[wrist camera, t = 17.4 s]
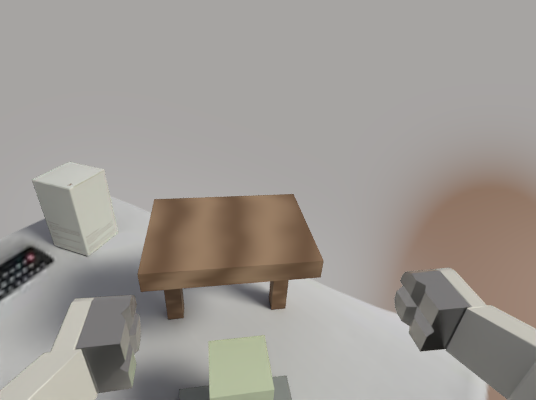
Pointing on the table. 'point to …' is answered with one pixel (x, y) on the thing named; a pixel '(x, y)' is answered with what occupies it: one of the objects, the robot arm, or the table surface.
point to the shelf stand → (226, 246)
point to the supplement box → (77, 207)
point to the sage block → (240, 369)
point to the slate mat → (200, 396)
